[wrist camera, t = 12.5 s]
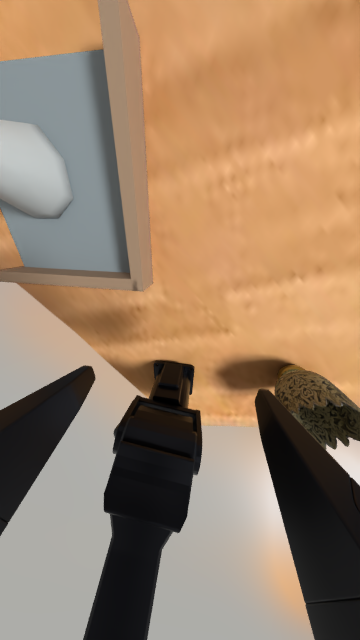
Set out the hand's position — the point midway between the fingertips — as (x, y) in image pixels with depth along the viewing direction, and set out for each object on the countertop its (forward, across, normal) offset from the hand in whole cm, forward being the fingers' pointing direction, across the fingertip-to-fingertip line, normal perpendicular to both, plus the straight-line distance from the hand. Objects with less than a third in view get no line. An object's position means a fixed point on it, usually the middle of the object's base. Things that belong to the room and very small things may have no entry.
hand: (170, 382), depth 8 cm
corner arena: (+13, +14, -11) cm, 22 cm away
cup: (+13, -15, +10) cm, 22 cm away
